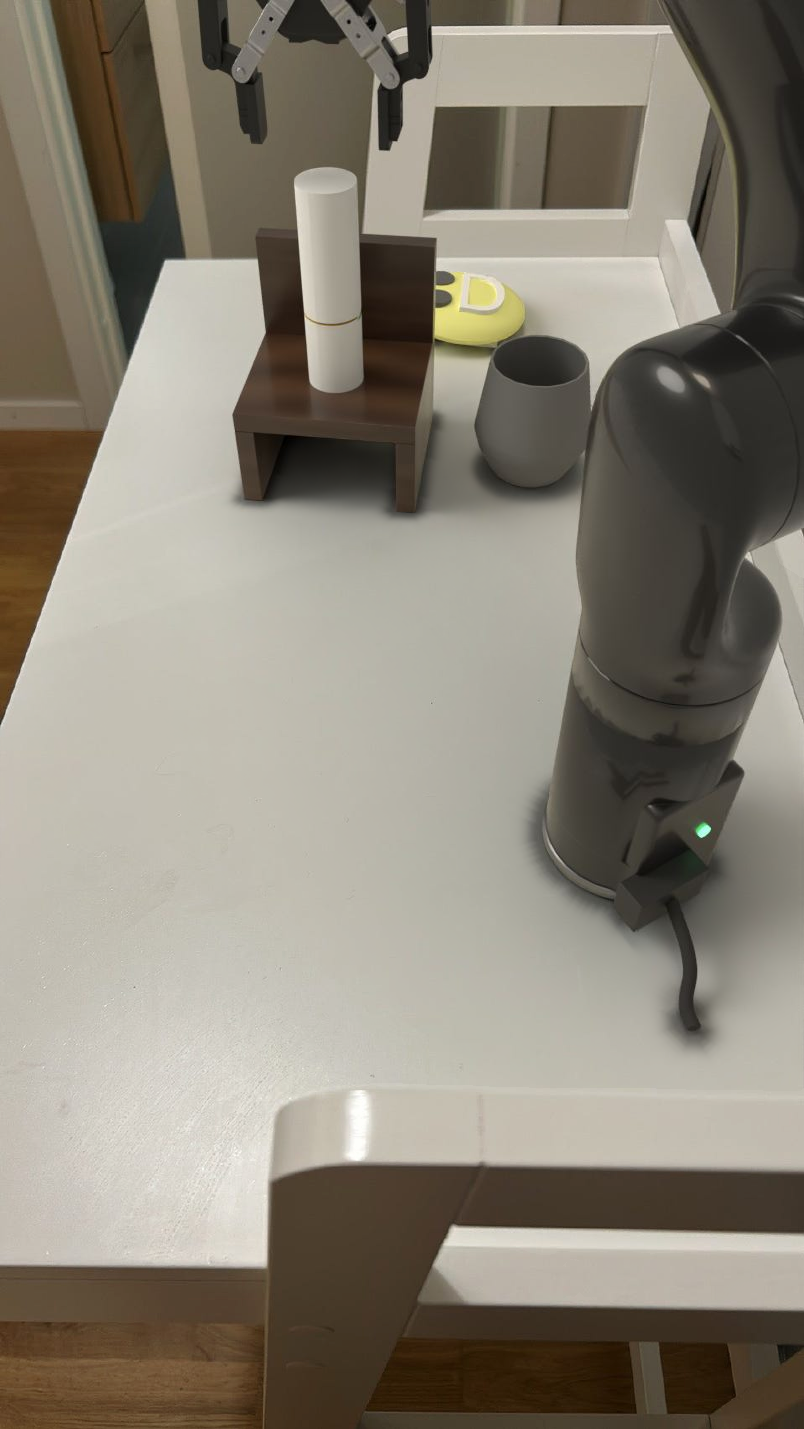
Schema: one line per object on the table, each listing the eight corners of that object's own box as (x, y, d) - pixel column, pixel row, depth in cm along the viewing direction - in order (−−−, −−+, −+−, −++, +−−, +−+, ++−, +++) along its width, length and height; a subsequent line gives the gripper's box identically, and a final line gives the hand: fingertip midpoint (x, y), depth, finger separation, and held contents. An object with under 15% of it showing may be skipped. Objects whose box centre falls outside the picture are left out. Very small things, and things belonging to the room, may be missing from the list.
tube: (344, 399, 80) (334, 199, 69) (298, 383, 82) (281, 185, 71) (373, 373, 83) (369, 175, 71) (328, 358, 84) (317, 162, 73)
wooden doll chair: (414, 513, 84) (416, 328, 72) (244, 499, 85) (217, 315, 73) (432, 417, 93) (436, 237, 81) (278, 406, 94) (259, 227, 82)
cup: (605, 484, 86) (625, 376, 79) (507, 515, 84) (517, 406, 76) (547, 424, 92) (560, 318, 84) (453, 451, 89) (457, 344, 82)
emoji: (529, 265, 104) (409, 251, 104) (527, 329, 96) (397, 313, 96) (523, 302, 107) (406, 288, 107) (520, 367, 99) (394, 352, 99)
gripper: (158, -162, 55) (204, 161, 68) (425, -156, 54) (422, 172, 66) (194, -189, 60) (231, 117, 72) (441, -184, 59) (435, 126, 71)
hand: (322, 143), depth 69 cm, fingers open, 8 cm apart
